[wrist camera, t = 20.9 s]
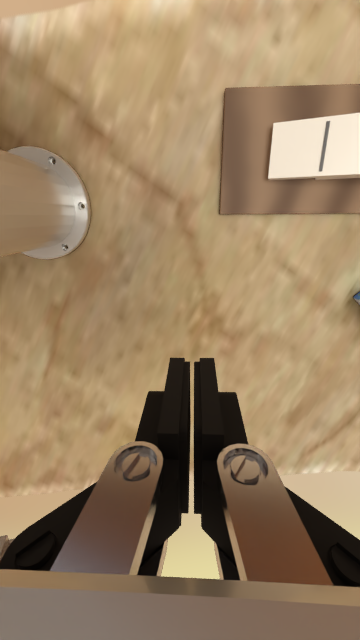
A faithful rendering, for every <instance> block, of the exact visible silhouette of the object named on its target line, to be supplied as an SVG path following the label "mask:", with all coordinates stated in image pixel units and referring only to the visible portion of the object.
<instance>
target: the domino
mask: <svg viewBox="0 0 360 640" xmlns="http://www.w3.org/2000/svg"><path fill="white" fill-rule="evenodd" d="M349 176H360V113H353V114H344V115H336V116H328V117H319V118H311V119H303V120H295V121H286V122H278V123H274V124H273V134H272V144H271V154H270V164H269V174H268V179H269V180H286V179H307V178H328V177H349Z"/></svg>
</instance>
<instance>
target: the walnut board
mask: <svg viewBox="0 0 360 640" xmlns="http://www.w3.org/2000/svg"><path fill="white" fill-rule="evenodd" d="M353 113H360V84H343V85H309V86H276V87H242V88H226V89H225V93H224V116H223V140H222V164H221V189H220V213H219V214H305V213H360V178H345V179H325V180H315V178H307V179H286V180H269V179H268V174H269V164H270V154H271V144H272V134H273V124H274V123H278V122H286V121H295V120H303V119H311V118H319V117H328V116H336V115H344V114H353Z"/></svg>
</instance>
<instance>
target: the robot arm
mask: <svg viewBox="0 0 360 640" xmlns="http://www.w3.org/2000/svg"><path fill="white" fill-rule="evenodd" d="M54 160H56V163H55V164H54ZM83 204H84V205H85V208H83V207H82V205H83ZM90 218H91V208H90V201H89V197H88V193H87V190H86V188H85V186H84V183H83V181H82V180H81V178H80V177H79V175H78V173H77V172H76V171H75V170H74V169H73V168H72V167H71V165H70V164H69V163H67V162H66V161H65V160H64V159H62V158H61V157H60V156H58V155H56V154H54V153H52V152H50V151H48V150H45V149H43V148H39V147H34V146H20V147H16V148H12V149H10V150H8V151H3V150H1V149H0V257H1V256H6V255H11V254H16V253H22V254H25V255H27V256H29V257H33V258H36V259H45V260H47V259H56V258H59V257H63V256H65V255H67V254H69V253H71V252H72V251H74V250H75V249H76V248H77V247H78V246H79V245H80V244H81V243H82V242H83V240H84V238H85V236H86V234H87V232H88V228H89V225H90ZM66 245H68V248H67V247H66ZM189 464H190V362H185V359H184V358H170V362H169V368H168V374H167V379H166V385H165V391H149V392H148V395H147V398H146V402H145V406H144V410H143V413H142V417H141V421H140V424H139V428H138V432H137V436H136V439H135V442H131V443H128V444H126V445H124V446H121V447H120V448H119V449H118V450H116V451H115V452H114V454H113V455H112V456H111V458H110V459H109V461H108V463H107V465H106V467H105V469H104V471H103V472H102V474H101V476H100V478H99V480H98V481H97V482H96V483H94V484H93V485H91V486H90V487H88V488H87V489H85V490H84V491H83V492H81V493H79V494H78V495H76V496H75V497H73V498H72V499H70V500H69V501H67V502H66V503H64V504H63V505H62V506H60V507H58V508H57V509H55V510H54V511H52V512H51V513H49V514H48V515H46V516H45V517H43V518H41V519H40V520H38V521H37V522H36V523H34V524H33V525H31V526H29V527H28V528H27V529H26V530H24V531H23V532H22V533H21V534H19V535H18V536H17V537H16V538H15V539H10V540H9V539H8V536H7V535H5V536H1V537H0V640H360V540H359V539H357V538H356V537H354V536H353V535H352V534H350V533H349V532H348V531H346V530H345V529H343V528H342V527H341V526H339V525H338V524H336V523H335V522H334V521H332V520H331V519H329V518H328V517H326V516H325V515H324V514H322V513H321V512H320V511H318V510H317V509H315V508H314V507H312V506H311V505H310V504H308V503H307V502H306V501H304V500H303V499H301V498H300V497H299V496H297V495H296V494H295V493H293V492H292V491H290V490H289V489H288V488H286V487H285V486H284V485H283V483H282V481H281V479H280V477H279V475H278V473H277V471H276V469H275V467H274V465H273V463H272V461H271V460H270V458H269V457H268V455H266V454H265V453H264V452H263V451H262V450H260V449H258V448H256V447H254V446H251V445H248V441H247V437H246V433H245V429H244V424H243V420H242V416H241V411H240V407H239V403H238V399H237V395H236V393H235V392H218V385H217V378H216V370H215V363H214V358H200V362H194V514H201V522H202V523H201V526H202V529H203V530H204V531H205V532H206V533H207V534H208V535H209V536H210V537H211V538H212V539H213V541H214V546H215V554H216V559H217V564H218V570H219V575H220V580H217V579H197V578H180V577H161V573H162V568H163V564H164V559H165V555H166V550H167V542H168V538H169V537H170V536H171V535H172V534H173V533H174V532H175V531H176V530H177V529H178V528H179V526H181V513H188V507H189V504H188V503H189Z"/></svg>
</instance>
